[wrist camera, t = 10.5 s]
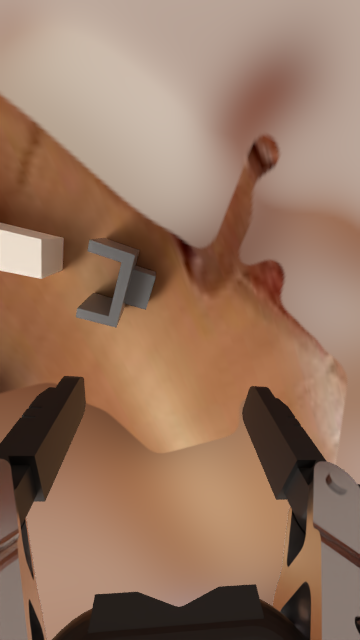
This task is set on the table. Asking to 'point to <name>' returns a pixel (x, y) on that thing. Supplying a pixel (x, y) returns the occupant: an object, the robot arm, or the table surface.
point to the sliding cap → (118, 284)
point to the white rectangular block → (30, 252)
